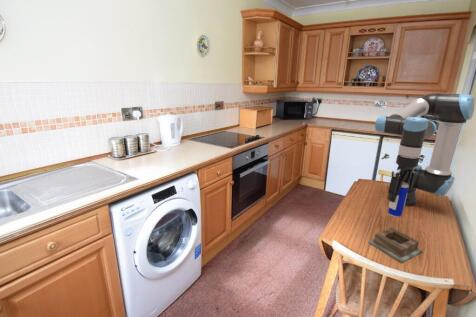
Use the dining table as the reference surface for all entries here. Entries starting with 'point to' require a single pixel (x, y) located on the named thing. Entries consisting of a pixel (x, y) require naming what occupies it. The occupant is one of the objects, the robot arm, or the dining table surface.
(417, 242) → the socket block
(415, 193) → the robot arm
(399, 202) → the beverage can
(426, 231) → the dining table surface
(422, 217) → the dining table surface
